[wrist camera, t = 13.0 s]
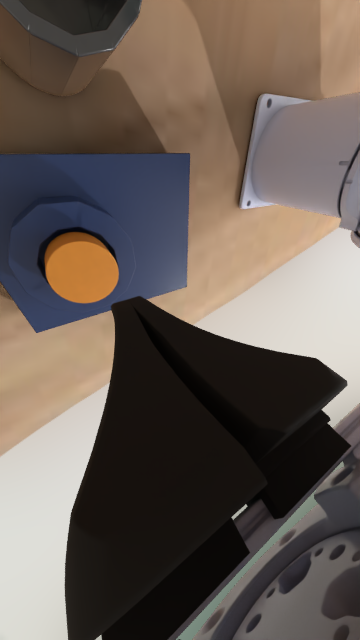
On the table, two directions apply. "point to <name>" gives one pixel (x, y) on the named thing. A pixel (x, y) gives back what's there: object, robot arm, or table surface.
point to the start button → (80, 267)
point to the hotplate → (93, 225)
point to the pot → (62, 39)
